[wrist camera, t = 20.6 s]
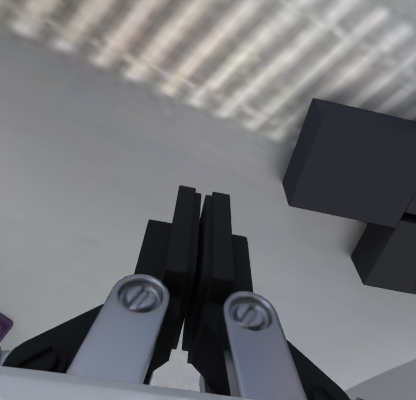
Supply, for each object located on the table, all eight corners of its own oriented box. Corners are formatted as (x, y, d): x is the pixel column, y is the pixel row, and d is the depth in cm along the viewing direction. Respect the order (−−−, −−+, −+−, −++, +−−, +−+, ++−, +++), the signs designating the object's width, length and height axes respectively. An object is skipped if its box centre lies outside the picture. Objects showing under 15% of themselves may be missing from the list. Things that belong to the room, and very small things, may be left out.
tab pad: (312, 97, 22) (324, 112, 20) (473, 134, 23) (505, 153, 20) (281, 183, 25) (288, 206, 23) (424, 213, 26) (447, 239, 23)
